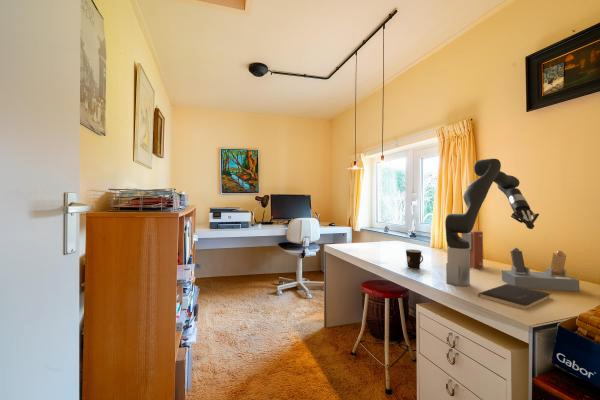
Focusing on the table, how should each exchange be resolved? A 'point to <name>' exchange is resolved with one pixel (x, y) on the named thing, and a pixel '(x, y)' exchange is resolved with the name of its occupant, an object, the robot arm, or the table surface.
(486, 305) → the table surface
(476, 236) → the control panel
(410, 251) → the coffee mug
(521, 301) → the hardcover book
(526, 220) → the robot arm
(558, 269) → the copper lever
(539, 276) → the lever console
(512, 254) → the black lever
